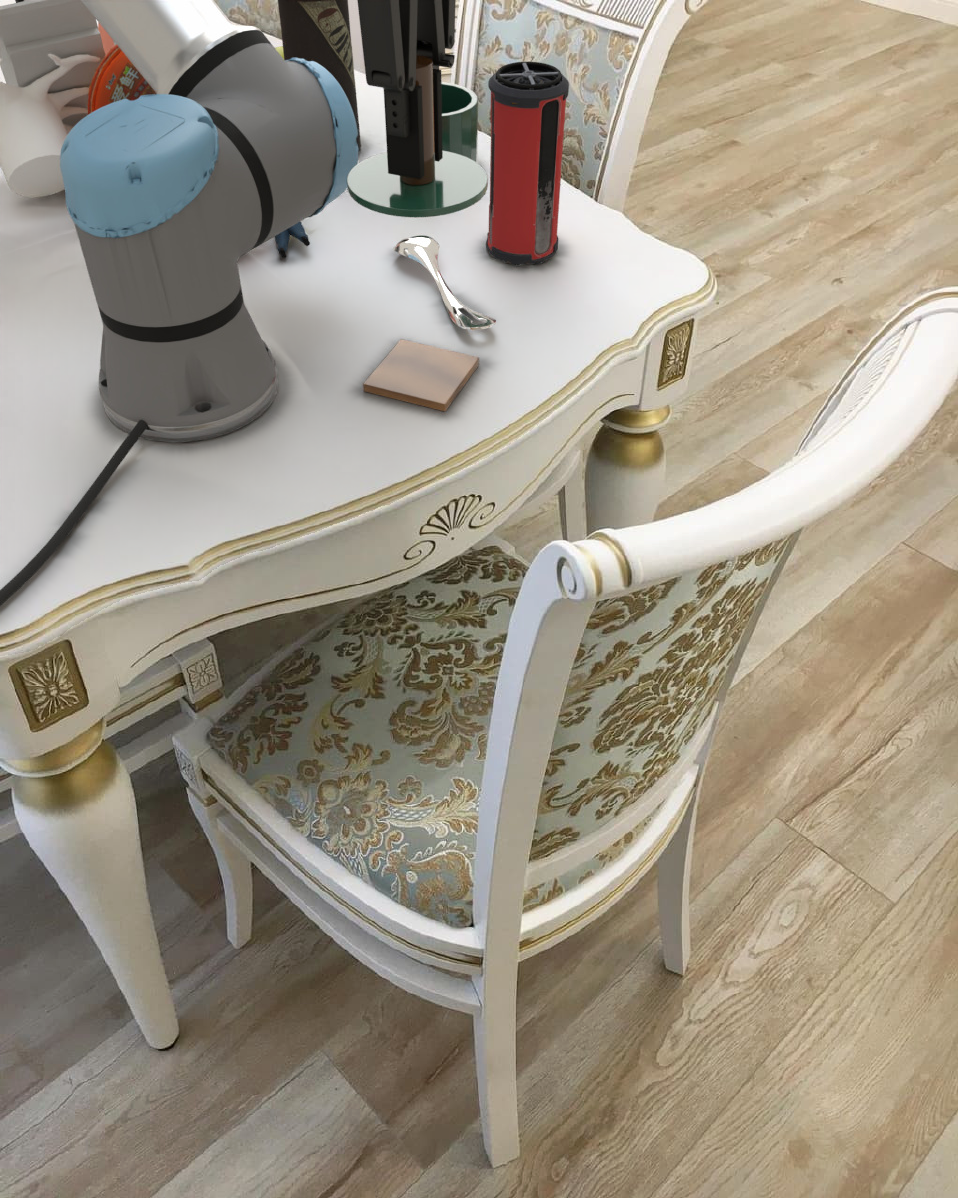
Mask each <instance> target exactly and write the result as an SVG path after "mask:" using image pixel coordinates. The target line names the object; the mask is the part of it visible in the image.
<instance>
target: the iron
mask: <svg viewBox="0 0 958 1198" xmlns="http://www.w3.org/2000/svg"><path fill="white" fill-rule="evenodd" d="M14 1H15V2H13V3H9V4H5V5H0V58H2V59H3V60H2V62H0V69H1V72H2V76H3V78H4V82H5V83H6V84H10V85H14V86H17V87H21V88H23V87H26V86H28V85H30V84H32V83H33V82H35V81H36V80H37V79H39V78H41V77H42V76H45V75H46V74H48V73H50V72H52V71H54V70H56V69H58V68H59V67H60V66H59V65H56V64H55V62H54V60H52V59H51V58H50V57H49V56H48V54H52V55H55V56H57V57H59V58H60V59H65V58H68V57H71V56H75V55H87V54H88V55H90V56H96V57H98V58H100V61H98V62H83V63H79V64H77V65H75V66H74V67H73V68H72V69H71V70H69V71H68V72H67V73H66V74H65V75H63V76H62V77H60V78H59V79H57V80H56V81H54V82H53V83H52V84H51V86H50V87H49V89H48V92H47V93H48V94H50V93H57V92H62V91H66V90H70V89H73V88H83V87H88V88H89V87H90V85H91V82H92V79H93V77H94V74H95V72H96V69H97V68H98V67H99V65H100V63H101V61H102V60H103V59H104V57H105V56H106V55H105V51H104V48H103V43H102V39H101V35H100V32H99V30H98V21H97V20H96V18H95V17H94V16H93V15H92V14H91V12H90V11H89V10H88V9H87V7H86V6H85V5H84V4H83V3H82V1H81V0H14ZM87 104H88V94H86V95H83V96H80V97H77V98H75V99H73V100H71V101H69V102H68V103H67V104H66V105H65V106H64V107H68V106H69V107H80V108H87V109H88V106H87ZM87 115H88V113H80V114H73V115H70V116H68V117H66V118H64V119H62V122H63V124H66V125H69V126H75V125H76V124H77V123H78V122H79V121H80V120H82V119H83V118H84V117H86V116H87Z"/></svg>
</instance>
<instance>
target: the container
mask: <svg viewBox="0 0 958 1198" xmlns="http://www.w3.org/2000/svg"><path fill="white" fill-rule="evenodd" d="M277 4H278V5H277V7H278V14H279V23H280V32H281V41H282V46H283V53H284V60H289V59H291V58H299V59H305V60H307V61H314V62H316V63H318V64H320V65H321V66H323V67H324V68H325V69H326V70H327V71H329V72H330V73H331V74H332V75H333V77H334V78H335V79H336V80H337V82H338V83H339V84H340V86H341V87H342V89H343V91H344V92H345V94H346V96H347V98H348V100H349V103H350V105H351V108H352V110H353V113H354V117H355V121H356V125H357V131H358V136H357V138H356V141H357V145H358V153H359V152H360V150H361V148H362V143H361V142H362V141H361V131H360V121H359V120H360V119H359V109H358V99H357V87H356V86H357V85H356V78H355V67H354V66H355V65H354V56H353V55H354V54H353V46H352V35H351V21H350V10H349V9H350V8H349V0H277Z"/></svg>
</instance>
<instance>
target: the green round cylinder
mask: <svg viewBox="0 0 958 1198" xmlns="http://www.w3.org/2000/svg"><path fill="white" fill-rule="evenodd" d="M441 86H442V151H447V152H452V153H456V154H459V155H462V156H465V157H467V158H469V159H472V160H473V161H475V162H477V163H478V134H479V133H478V127H479V125H478V123H479V119H478V118H479V97H478V96H477V94H476V92H475V91H473V90H471V89H470V88H469V87H466V86H463V85H460V84H456V83H451V82H445V81H441Z"/></svg>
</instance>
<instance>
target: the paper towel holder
mask: <svg viewBox="0 0 958 1198" xmlns="http://www.w3.org/2000/svg"><path fill="white" fill-rule="evenodd" d="M415 85H418V86H422V107H423V142H424V177H423V178H422V179H415V178H409V177H404V176H399V175H393V174H388V160H387V151H386V152H381V153H378V154H375V155H372V156H369V157H367V158H365V159H363V160H361V161H360V162H357V165H355V166H354V167H353V168H352V169H351V171H350V172H349V174H348V177H347V192H348V194H349V196H350V197H351V199H353V201H355V202H356V203H357V204H358V205H360V206H362V207H363V208H365V209H368V210H370V211H372V212H376V213H379V214H383V215H387V216H393V217H400V218H429V217H430V218H431V217H440V216H446V215H450V214H455V213H457V212H460V211H463V210H465V209H468V208H470V207H472V206H473V205H476V204H477V203H478V202H480V200H482V199H483V197H484V196H485V195H486V194H487V191H488V187H489V184H488V183H489V178H488V174H487V172H486V169H484V167H483V166H482V165H480V164H479V162H478V161H477V162H475V161H473V160H472V159H469V158H467V157H465V156H462V155H459V154H456V153H452V152H447V151H443V158H442V159H441V160H440V161H439V162H438V161H435V135H434V87H433V61H432V60H431V59H430V58H428V57H425V56H419V55H416V83H415Z"/></svg>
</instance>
